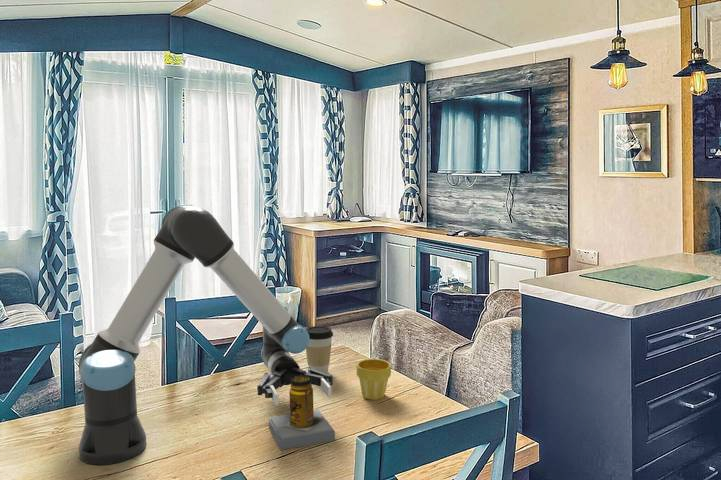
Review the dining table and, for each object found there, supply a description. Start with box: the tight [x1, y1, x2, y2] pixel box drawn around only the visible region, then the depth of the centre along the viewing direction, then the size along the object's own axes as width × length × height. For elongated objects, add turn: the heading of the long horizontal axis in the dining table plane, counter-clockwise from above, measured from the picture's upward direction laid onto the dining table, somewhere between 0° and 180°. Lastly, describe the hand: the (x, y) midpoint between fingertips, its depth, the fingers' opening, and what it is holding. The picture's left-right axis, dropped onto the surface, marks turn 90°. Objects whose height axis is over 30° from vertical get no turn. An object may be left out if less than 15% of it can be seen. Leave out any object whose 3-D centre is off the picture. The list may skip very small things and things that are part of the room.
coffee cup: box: [305, 325, 334, 374], centre depth 193 cm, size 10×10×15 cm
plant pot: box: [356, 358, 392, 401], centre depth 175 cm, size 10×10×10 cm
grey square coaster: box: [268, 409, 336, 451], centre depth 150 cm, size 14×13×3 cm
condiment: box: [283, 376, 325, 431], centre depth 150 cm, size 7×8×12 cm
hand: (303, 396), depth 146 cm, fingers open, 13 cm apart
